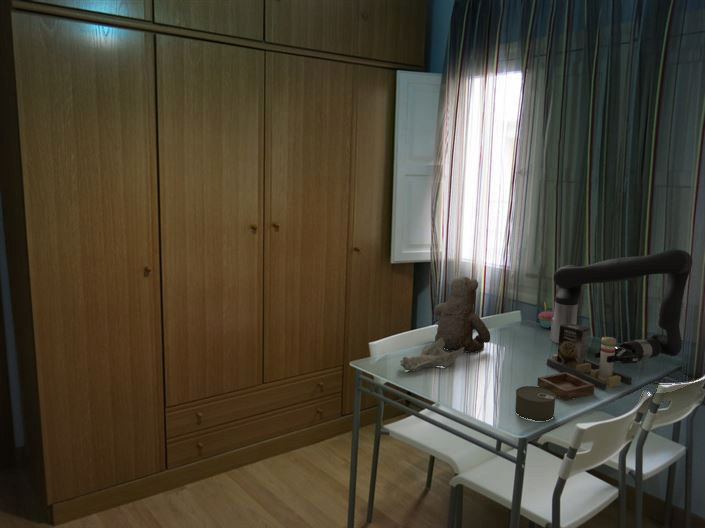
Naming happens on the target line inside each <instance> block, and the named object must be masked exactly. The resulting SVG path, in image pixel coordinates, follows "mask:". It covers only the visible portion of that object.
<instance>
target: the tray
mask: <svg viewBox="0 0 705 528" xmlns="http://www.w3.org/2000/svg"><path fill="white" fill-rule="evenodd" d="M537 386H539V387H541V388H545V389H548V390H550V391H552V392H553V393H555V395H556V397H557V396H558V397H557V398H559V397H560V398H559V399H561V398H562V399H561V400H563V399H564V400H563V401H565V400H566V401H569V400H568V399H570V400H574V399H573V398H575V399H578V398H577V397H579V398H583V397H582V396H584V397H588V396H590V395H592V396H593V395H594V394H595V388H596V387H595V385H594V384H591V383H589V382H587V381H585V380H583V379H580V378H578V377H576V376H574V375H571V374H569V373H567V372H560V373H554V374H550V375H545V376H544V375H543V376H540V377H537ZM537 386H536V387H537ZM587 395H588V396H587Z"/></svg>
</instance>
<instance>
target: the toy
mask: <svg viewBox="0 0 705 528" xmlns="http://www.w3.org/2000/svg"><path fill="white" fill-rule="evenodd" d="M478 288H479V281H478V280H476V279H471V278H470V277H469V276H458V277H455V278H453V279H452V281H451V284H450V291H449V295H448V296H449V297H448V299H447V301H445V302H441V303H439V304H437V305H436V306H434V309H433V313H434V315H435V316H437V317H439V321H438V324H437V329H436V334H435V336H434V342H436V341H437V340H438V339H440V338H443V340H444V342H445V345H444V347H443V348H445V349H448V350H447V351H449V350H454V351H457V350H459V349H461V348H463V347H464V349H463V351H468V352H467V353H477V352H476V351H478V352H480V351H482V350H484V349H485V344H487V343H490V341H491V332H490V330H489V329H488V327H487V326H486V324H485V322H484V321H483V320H482V319H481V318H480V316H479V315H477V314H476V312H474V304H475V302H476V297H477V295H476V294H477V293H476V292H477V291H476V290H477V289H478ZM474 330H475V331H476V332H477V335H476V336H475V337H473V333H474V332H473V331H474ZM445 349H444V350H445Z"/></svg>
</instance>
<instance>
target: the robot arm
mask: <svg viewBox="0 0 705 528" xmlns="http://www.w3.org/2000/svg"><path fill="white" fill-rule="evenodd" d="M692 266H693V258H692V256H691V254H689V252H688V251H685V250H682V249H677V248H676V249H673V248H672V249H668V250H664V251H660V252H658V253H657V252H656V253H653V254H648V255H638V256H635V255H634V256H624V257H617V258H611V259H606V260H605V259H604V260H602V261H599V262H595V263H591V264H589V265H584V266H577V265H575V264H567V265H564V266H561V267H559V268H558V269H557V270H555V272H554V275H553V281H554V283H555V284H556V286H557V287H559V288H558V291H557V294H556V295H555V298H554V308H553V309H554V310H553V313H554V318H552V323H551V328H550V337H549V338H550V340H551V341H552V342H553V343H555V344H558V343H559V332H560V325H562V324H566V323H571V324H575V325H577V319H578V307H579V306H578V305H579V299H580V297H581V293H582V292H581V291H582V286H583V285H588V284H606V283H616V282H625V281H631V280H634V279H640V278H642V277H646V276H650V275H651V276H652V275H664V274H665V275H667V284H666V288H665V292H664V294H663V295H664V296H663V298H662V300H661V304H660V307H659V308H660V309H659V315H658V327H659V328H660V329H662V330H665V332H666V334H659V333H657V334H653V335H651V336H650V337H648V338H644V339H634V340H629V341H624V342H621V344H620V345H618V346H615V355H612V356H608V357H607V362H608V363H611V362H614V363H615V362H616V363H620V362H621V364H623V365H624V364H637V363H638V362H641V361H644V360H648V359H651V358H655V357H656V358H657V357H658V356H659V355H660V354H662V355H666V356H670V357H675V356H677V355H679V354H680V353H681V351H682V348H683V341H682V334H681V329H680V328H681V327H680V323H681V314H682V308H683V307H682V305H683V300H684V295H685V290H686V286H687V283H688V282H687V281H688V278H689V275H690V271H691V269H692ZM600 354H601V346H600V347H599V350H598V351H596V352H595V353H594V355H595V356H594V357H595V358H596V359H600Z"/></svg>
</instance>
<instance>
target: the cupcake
mask: <svg viewBox="0 0 705 528" xmlns="http://www.w3.org/2000/svg"><path fill="white" fill-rule="evenodd" d="M543 304H544V311H541V312H539V314H538V315H537V316H538V319H539V321H540V324H541V327H543V328H546V329H550V328H549V327H551V323H552V318H554V311H553V312H552V311H549V310H548V311H547V305H546V300H544V301H543Z"/></svg>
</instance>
